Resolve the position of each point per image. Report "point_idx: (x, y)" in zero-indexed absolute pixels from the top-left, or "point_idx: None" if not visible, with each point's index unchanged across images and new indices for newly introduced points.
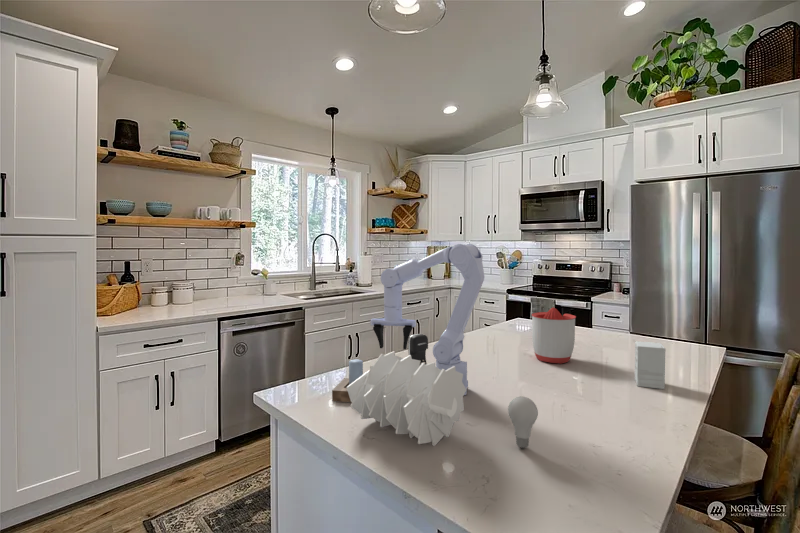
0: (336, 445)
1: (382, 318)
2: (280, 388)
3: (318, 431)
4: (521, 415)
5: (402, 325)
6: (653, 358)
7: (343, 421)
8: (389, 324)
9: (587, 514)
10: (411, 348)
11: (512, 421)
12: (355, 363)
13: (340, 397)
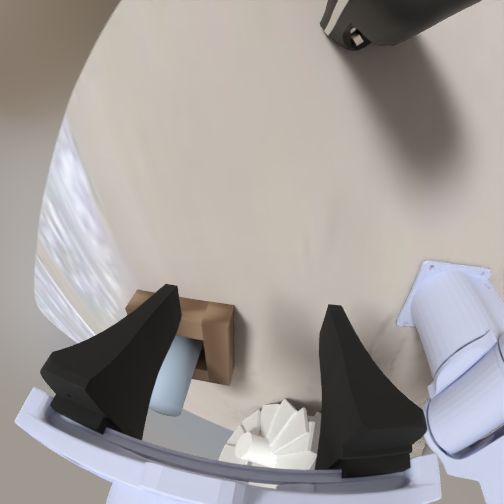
0: (230, 429)
1: (70, 458)
2: (39, 287)
3: (194, 412)
4: None
5: (312, 478)
6: None
7: (214, 402)
8: (183, 466)
9: (414, 449)
10: (360, 25)
11: (423, 449)
12: (169, 415)
13: None
